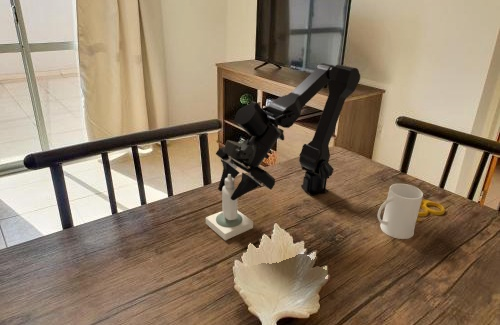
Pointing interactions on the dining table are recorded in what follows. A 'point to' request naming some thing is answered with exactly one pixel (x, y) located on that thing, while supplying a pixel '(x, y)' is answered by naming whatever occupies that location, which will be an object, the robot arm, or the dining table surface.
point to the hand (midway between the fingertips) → (225, 194)
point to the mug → (400, 211)
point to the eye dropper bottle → (229, 199)
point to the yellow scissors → (424, 206)
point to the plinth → (229, 224)
